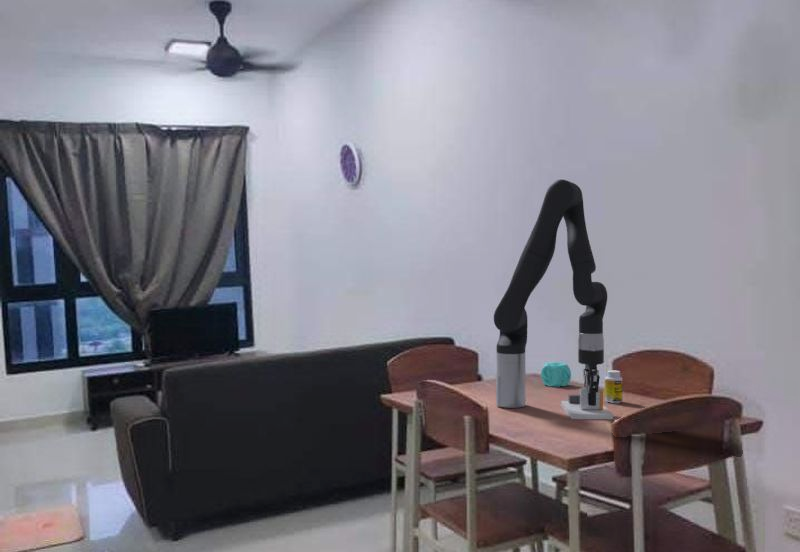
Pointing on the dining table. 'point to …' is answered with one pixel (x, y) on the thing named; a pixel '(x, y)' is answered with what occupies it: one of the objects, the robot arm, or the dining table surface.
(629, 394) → the dining table surface
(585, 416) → the base
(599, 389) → the white orange box
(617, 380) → the supplement bottle
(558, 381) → the decorative dice
